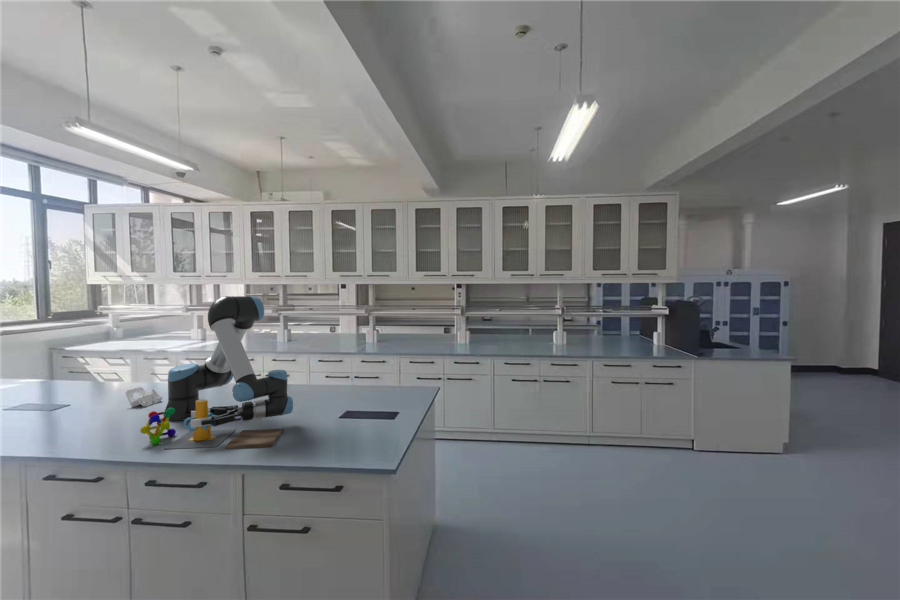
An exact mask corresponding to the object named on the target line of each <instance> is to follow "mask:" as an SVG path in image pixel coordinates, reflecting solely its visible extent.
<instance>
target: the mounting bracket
mask: <svg viewBox="0 0 900 600" xmlns="http://www.w3.org/2000/svg"><path fill="white" fill-rule="evenodd" d="M134 394H138V395H139V397H136V398H134ZM125 395H126V398H127V401H128V402H129V405H130V407H131V408H134V407H137V406H142V407H144V408H145V407H149V406H151V405H154V404H157V403H160V402H161V401H162V400H163V397H162V396H160V395H159V393H157V391H156V390H155V389H150V390H148V391H146V390H145V389H144V387H141V386H139V387H136V388H132V389H128V390H126V391H125Z"/></svg>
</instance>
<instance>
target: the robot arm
mask: <svg viewBox="0 0 900 600" xmlns="http://www.w3.org/2000/svg"><path fill="white" fill-rule="evenodd" d="M264 316H265V306H264V303H263V301H262V300H261V298H259V297H258V296H254V295H246V296H245V295H244V296H241V295H239V296H238V295H237V296H233V295H232V296H229V295H228V296H227V295H226V296H222V297H219V298H217V299H216V300H214V301H213V302H212V303H211V305H210V307H209V309H208V312H207V323H208V326H209V329H210V330H211V332H214V333H215V336H216V338H217V340H218V343H217V345H216V347H215V349H214V352H213V354H212V356H209V357H208V358H207V359H206V360H205V362H204V364H201V365H199V364H198V363H195V362H194V363H193V362H192V363H184V364H179V365H176V366H174V367H172V368H171V369H169V371H168V373H167V392H168V393H167V395H168V397H167V398H168V399H167V404H166V407H165V409H164V411H167V409H168V408H174V409H175V413H174V414H172V415H171V416H170V418H169V421H168V422H180V421H185V420H186V419H187V418H194V419H195V420H190V422H191V429H193V428H194V427H199V426H206V425H213V426H212V427H217V426H222V425H225V424H228V423H232V422H236V421H241V420H242V421H243V422H248V421H251V420H253V419H254V420H262V419H265V418H272V417H278V416H285V415H288V414H291V413H292V412H293V410H294V401H293V396H291V395H290V396H289V395H288V381H289V380H288V372H287V371H286V370H284V369H272V370H270V371H268V374H267V376H266V377H261V378H258V377H257V376H256V373H255V372H254V369H253V366H252V364H251V362H250V359H249V356H248V354H247V352H246V350H245V348H244V345H243V342H242V340H243V339H244V336H245V334H246V333H247V331H248V330H249V329H251V328H253V326H254V324H255V322H259V321H261V320H262V319H263V318H264ZM233 379H234V382H235V384H234V385H233V387H232V391H231V392H232V397H233V399H234V400H235V401H236V402H239V403H242V404H241V407H239V405H236V404H235V405H226V406H224V405H223V406H221V405H220V406H212V407H210V408H208V414H209V413H213V414H214V415H216V416H217V417H214V416H212V415H210V416H211V417H210V416H209V417H208V418H202V419H196V401H197V400H200V397H199V391H203V390H208V389H213V388H218V387H223V386H226V385H228V384H229V383H231V381H232V380H233ZM266 396H267V397H268V398H267V399H266V398H265V399H258V398H263V397H266ZM254 399H257V400H254ZM252 400H253V402H252ZM166 414H167V413H166ZM166 414H163V417H164V416H165V415H166ZM165 421H166V419H165Z"/></svg>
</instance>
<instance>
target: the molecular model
mask: <svg viewBox="0 0 900 600" xmlns="http://www.w3.org/2000/svg"><path fill="white" fill-rule="evenodd" d="M166 413H167V414H166ZM174 413H175V409H174V408H168V409H167V411H165V410H164V411H160V412H157V411H151V412H149V413H148V418H149V419H148V420H147V423H146V425H143V426H142V427H141V428H140V433H141V434H147V436H148V439H149V440H150V443H151V444H152V445H158V444H159V443H161V438H160V437H163V436H168V437H173V436H174V435H176V432H177V430H176V429H175V428H170V427H171V426H170V425H171V424H170V421H169V418H170V416H171V415H172V414H174ZM164 414H166V415H165V416H164ZM160 415H163V418H161V417H160ZM165 419H166V420H165ZM153 423H156V425H155V426H152V425H153ZM151 430H155V431H154V432H152V431H151ZM165 430H167V431H165ZM164 431H165V432H164Z"/></svg>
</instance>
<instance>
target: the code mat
mask: <svg viewBox="0 0 900 600" xmlns="http://www.w3.org/2000/svg"><path fill="white" fill-rule="evenodd" d="M234 432H236V429H216V430H215V429H214V430H213V429H211V437H210V438H209V439H206V440H202V441H195V440H193V431H190V430H188V431H187V433H185V434H183V435H182V436H180V437H179V438H177V439H176V440H174V441H173V442H172V443H170V444H169V445H168V446H166V447H164V448H163V450H178V449H179V450H184V449H203V448H218V446H220V445H221V444H223V442H224V441H225V440H226V439H227V438H228V437H230V436H231V435H233V433H234Z"/></svg>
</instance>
